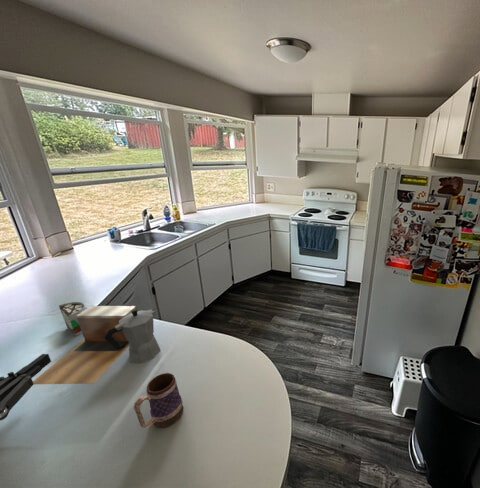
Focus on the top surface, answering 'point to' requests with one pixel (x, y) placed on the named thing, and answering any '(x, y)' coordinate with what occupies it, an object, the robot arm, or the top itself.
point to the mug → (161, 402)
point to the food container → (72, 315)
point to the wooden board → (82, 363)
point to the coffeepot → (137, 335)
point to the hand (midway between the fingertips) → (46, 357)
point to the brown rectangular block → (102, 321)
